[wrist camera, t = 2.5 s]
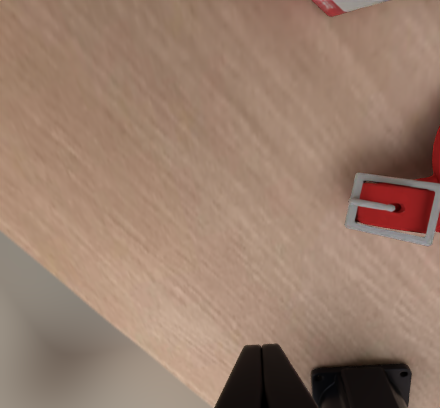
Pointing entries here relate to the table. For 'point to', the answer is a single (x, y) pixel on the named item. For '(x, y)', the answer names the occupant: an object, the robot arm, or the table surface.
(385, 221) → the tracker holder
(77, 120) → the table surface
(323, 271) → the table surface
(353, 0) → the ink box
